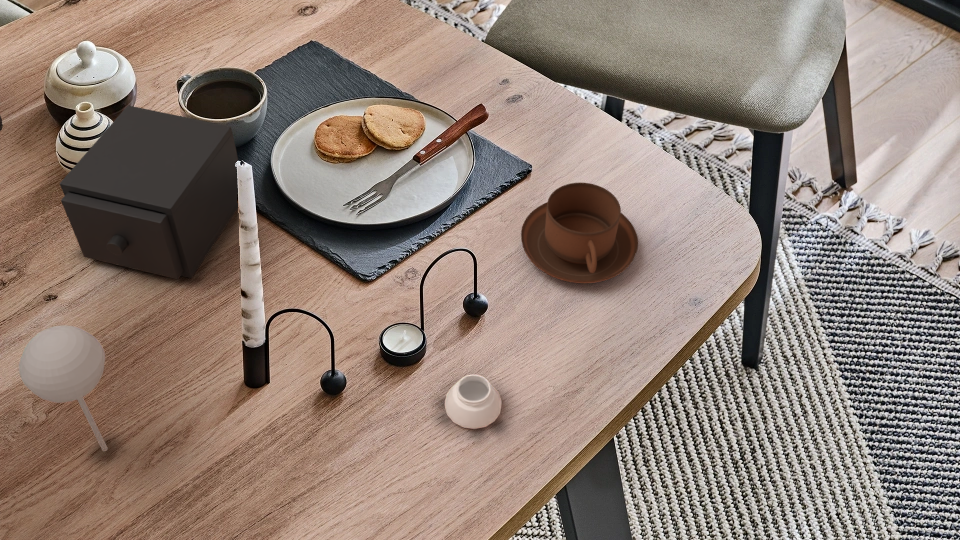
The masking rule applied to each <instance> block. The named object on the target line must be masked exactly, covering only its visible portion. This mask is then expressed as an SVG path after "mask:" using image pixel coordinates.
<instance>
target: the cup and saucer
mask: <svg viewBox="0 0 960 540" xmlns="http://www.w3.org/2000/svg"><path fill="white" fill-rule="evenodd" d="M520 238H521V239H520V240H521V244H522V248H523V250H524V252H525V254H526V256H527V257H528V259H529V260H530V262H531V263H532V264H533V265H534V266H535V267H536V268H538V269H539V270H540V271H542V272H543V273H544V274H546V275H549V276H550V277H553V278H555V279H558V280H561V281H564V282H568V283H569V282H570V283H574V284H594V283H601V282H605V281H607V280H610V279H613V278H615V277H616V276H618V275H620V274H621V273H623V272H625V271H626V269H628V267H630V265H631V264H632V262H633V261H634V259H635V257H636V255H637V252H638V248H639V239H638V233H637V231H636V229H635V227H634V225H633V223H632V222H631V221H630V219H629V218H627V216H625V214H623V213H622V210H621V204H620V202H619V200H618V199H617V197H616V196H615V195H614V194H613V193H612V192H610V191H609V190H608V189H606V188H604V187H602V186H600V185H597V184H594V183H589V182H572V183H567V184H563V185H561V186H559V187H557V188H556V189H555V190H554V191H553V192H552V193H550V195H549V197H548V200H547V201H546V202H544V203H542V204H541V205H539V206H537V207H535V209H533V210H531V212H529V214H528V215H527V216H526V218H525V220H524V221H523V224H522V226H521V232H520Z"/></svg>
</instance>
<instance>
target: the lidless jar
mask: <svg viewBox="0 0 960 540" xmlns="http://www.w3.org/2000/svg"><path fill="white" fill-rule="evenodd" d="M502 404H503V402H502V398H501V394H500V392H499V391H498V390H497V389H496V388H495V386H494V385H492V383H491V382H490V381H489V380H488V379H487V378H486V377H484V376H483V375H480V374H475V373H474V374H467V375H464V376H463V377H461V378H460V379H459V380H458V381H456V382H455V383H454V384H453V385H452V386H451V388H449V390H448V391H447V393H446V395H445V400H444V408H445V411H446V412H445V413H446V415H447V416H448V418H449V419H450V420H451V421H452V422H453V423H454V424H456V425H458V426H459V427H462V428H465V429H472V430H477V429H481V428H486V427H488V426H489V425H491V424H492V423H495V421H496V420H497V418H498V417H499V416H500V414H501V410H502V406H503V405H502Z"/></svg>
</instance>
